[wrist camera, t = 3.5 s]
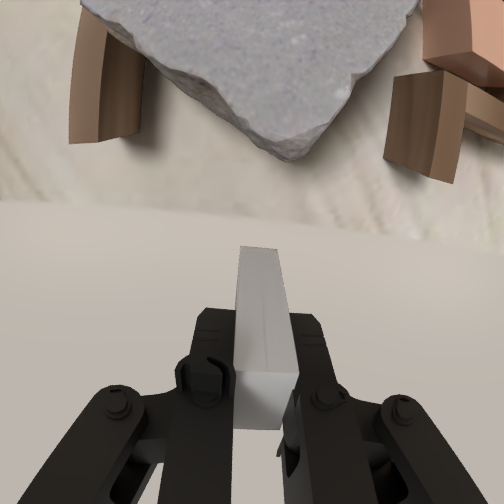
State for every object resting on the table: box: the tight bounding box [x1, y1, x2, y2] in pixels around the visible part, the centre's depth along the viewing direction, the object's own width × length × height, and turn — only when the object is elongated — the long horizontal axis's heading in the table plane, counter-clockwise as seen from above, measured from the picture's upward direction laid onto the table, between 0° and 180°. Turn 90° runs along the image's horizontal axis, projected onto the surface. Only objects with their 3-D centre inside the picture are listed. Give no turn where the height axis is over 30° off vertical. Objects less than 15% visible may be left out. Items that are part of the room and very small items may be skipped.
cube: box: [422, 0, 504, 88], centre depth 7 cm, size 4×4×4 cm
